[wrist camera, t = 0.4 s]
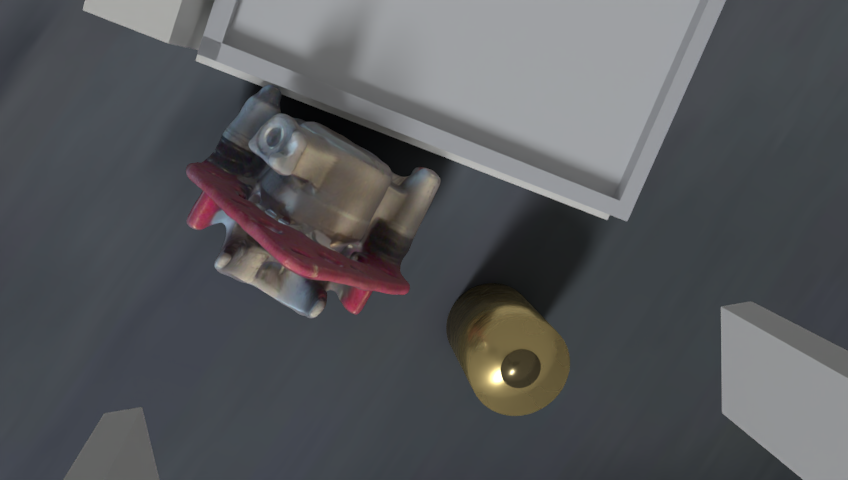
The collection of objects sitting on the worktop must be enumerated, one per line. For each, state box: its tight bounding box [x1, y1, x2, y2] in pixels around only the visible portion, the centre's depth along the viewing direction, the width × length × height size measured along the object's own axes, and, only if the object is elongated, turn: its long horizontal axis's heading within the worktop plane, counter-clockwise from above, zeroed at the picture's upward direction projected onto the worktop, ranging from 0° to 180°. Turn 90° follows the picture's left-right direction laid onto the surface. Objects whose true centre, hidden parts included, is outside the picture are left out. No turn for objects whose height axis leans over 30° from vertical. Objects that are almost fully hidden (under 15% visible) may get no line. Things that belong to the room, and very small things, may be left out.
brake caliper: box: [186, 85, 441, 318], centre depth 32 cm, size 11×11×12 cm
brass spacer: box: [446, 283, 570, 416], centre depth 36 cm, size 5×5×6 cm
